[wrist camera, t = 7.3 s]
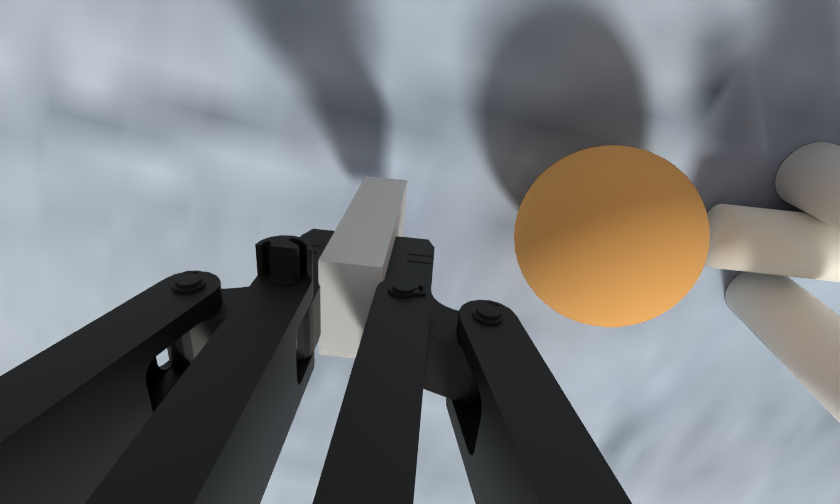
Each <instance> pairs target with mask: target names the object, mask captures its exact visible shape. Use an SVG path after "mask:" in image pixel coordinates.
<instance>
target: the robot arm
mask: <svg viewBox="0 0 840 504" xmlns="http://www.w3.org/2000/svg"><path fill="white" fill-rule="evenodd" d="M406 192H407V181H406V180H396V179H387V178H377V177H367V176H365V178H364V180H363V182H362V184H361V185H360V187H359V189H358V191H357V192H356V194H355V196H354V198H353V200H352V201H351V203H350V205H349V207H348V208H347V210H346V212H345V214H344V216H343V217H342V219H341V221H340V223H339V224H338V226H337V228H336V230H335V231H329V230H320V229H312V230H310V231H308V232H307V233H305V234H303V235H302V236H301V237H296V236H283V235H281V236H274V237H269V238H266V239H263V240H261V241H259V242H258V243H257V244H255V246H256V259H257V272H258V276H257V277H256V278H255V280H254V281H253V282H252V284H251V285H250V286H249V287H242V288H229V289H221V282H220V279H219V278H218V277H217V276H216V275H214V274H212V273H209V272H202V271H185V272H183V273H179V274H175V275H172V276H170V277H168V278H166V279H164V280H162V281H160V282H159V283H157V284H155V285H154V286H152V287H150V288H149V289H147V290H145V291H143V292H142V293H140V294H138V295H137V296H135V297H133V298H132V299H130V300H128V301H127V302H125V303H123V304H122V305H120V306H118V307H116V308H115V309H113V310H111V311H110V312H108V313H106V314H105V315H103V316H101V317H100V318H98V319H96V320H94V321H93V322H91V323H89V324H88V325H86V326H84V327H83V328H81V329H79V330H78V331H76V332H74V333H73V334H71V335H69V336H67V337H66V338H64V339H62V340H61V341H59V342H57V343H56V344H54V345H52V346H51V347H49V348H47V349H46V350H44V351H42V352H40V353H39V354H37V355H35V356H34V357H32V358H30V359H29V360H27V361H25V362H24V363H22V364H20V365H19V366H17V367H15V368H13V369H12V370H10V371H8V372H7V373H5V374H3V375H2V376H0V504H260V502H261V500H262V497H263V495H264V492H265V490H266V487H267V484H268V482H269V479H270V477H271V474H272V472H273V469H274V467H275V464H276V462H277V459H278V457H279V454H280V452H281V449H282V447H283V444H284V442H285V439H286V437H287V434H288V432H289V429H290V427H291V424H292V421H293V419H294V416H295V414H296V411H297V409H298V406H299V404H300V401H301V399H302V396H303V394H304V391H305V389H306V386H307V384H308V381H309V379H310V376H311V374H312V371H313V369H314V349H315V347H316V345H317V342H318V340H319V355H328V356H337V357H346V358H355V361H354V365H353V368H352V371H351V375H350V378H349V382H348V385H347V388H346V392H345V395H344V399H343V402H342V405H341V409H340V412H339V416H338V419H337V422H336V426H335V429H334V433H333V436H332V439H331V443H330V446H329V450H328V453H327V456H326V460H325V463H324V467H323V470H322V473H321V477H320V480H319V484H318V487H317V490H316V494H315V497H314V501H313V504H413V499H414V488H415V476H416V465H417V453H418V441H419V430H420V418H421V407H422V395H423V389H426V390H428V391H431V392H434V393H436V394H439V395H442V396H444V397H446V406H447V409H448V413H449V416H450V419H451V423H452V426H453V429H454V433H455V436H456V439H457V443H458V446H459V449H460V453H461V456H462V459H463V463H464V466H465V469H466V473H467V476H468V479H469V483H470V486H471V489H472V493H473V496H474V499H475V503H476V504H632V503H631V501H630V499H629V498H628V496H627V495H626V493H625V491H624V490H623V488H622V486H621V485H620V483H619V482H618V480H617V478H616V477H615V475H614V473H613V472H612V470H611V469H610V467H609V465H608V464H607V462H606V460H605V459H604V457H603V456H602V454H601V452H600V451H599V449H598V447H597V446H596V444H595V443H594V441H593V439H592V438H591V436H590V434H589V433H588V431H587V430H586V428H585V426H584V425H583V423H582V421H581V420H580V418H579V417H578V415H577V413H576V412H575V410H574V408H573V407H572V405H571V404H570V402H569V400H568V399H567V397H566V395H565V394H564V392H563V391H562V389H561V387H560V386H559V384H558V382H557V381H556V379H555V378H554V376H553V374H552V373H551V371H550V369H549V368H548V366H547V365H546V363H545V361H544V360H543V358H542V356H541V355H540V353H539V352H538V350H537V348H536V347H535V345H534V343H533V342H532V340H531V339H530V337H529V335H528V334H527V332H526V330H525V329H524V327H523V326H522V324H521V322H520V321H519V319H518V317H517V316H516V314H515V313H514V312H513V311H512V310H511V309H509V308H508V307H506V306H504V305H502V304H500V303H497V302H494V301H490V300H475V301H470V302H468V303H466V304H463V305H462V307H461V308H460V310H459V311H457V310H454V309H451V308H448V307H446V306H444V305H442V304H441V303H439V302H438V301H437V300H436V299H435V298H434V297H433V295H432V293H431V283H432V271H433V259H434V247H433V245H432V244H431V243H430V241H429V240H426V239H417V238H407V237H403V231H404V218H405V205H406ZM166 348H167V350H168V355H169V361H168V362H166V363H165V364H164V365H162V366H160V367H159V366H158V365H157V360H156V356H157V355H158V354H159V353H161V352H162V351H163V350H165V349H166Z"/></svg>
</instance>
